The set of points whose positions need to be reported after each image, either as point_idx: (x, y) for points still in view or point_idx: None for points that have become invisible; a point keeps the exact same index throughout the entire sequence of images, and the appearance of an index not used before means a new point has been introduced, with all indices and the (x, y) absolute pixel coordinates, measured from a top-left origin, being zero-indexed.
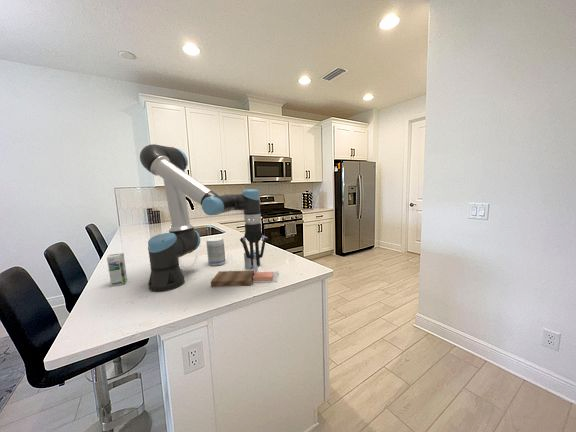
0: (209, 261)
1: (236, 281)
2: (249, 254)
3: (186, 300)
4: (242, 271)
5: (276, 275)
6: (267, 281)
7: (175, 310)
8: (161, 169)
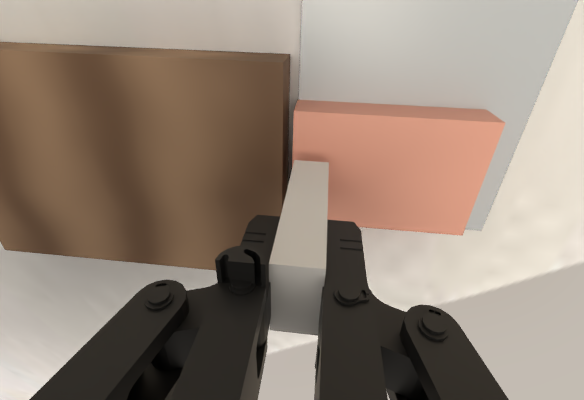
0: None
1: (181, 263)
2: (171, 332)
3: (26, 324)
4: (149, 79)
5: (519, 110)
6: None
7: (47, 368)
8: None
